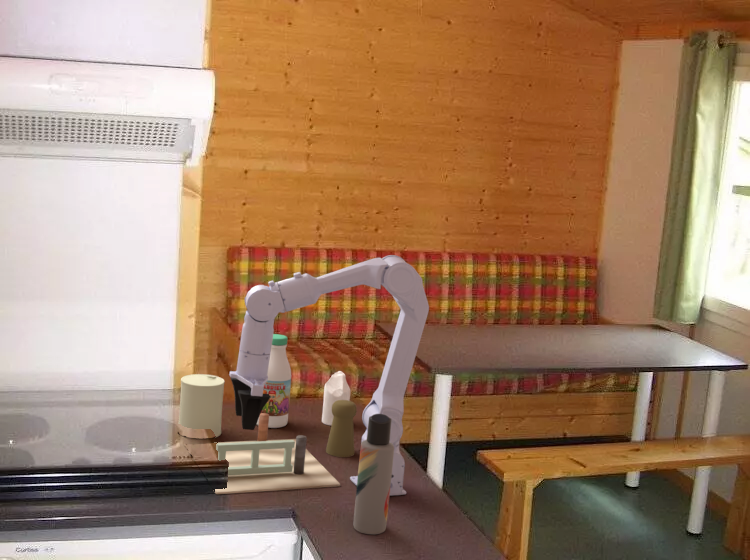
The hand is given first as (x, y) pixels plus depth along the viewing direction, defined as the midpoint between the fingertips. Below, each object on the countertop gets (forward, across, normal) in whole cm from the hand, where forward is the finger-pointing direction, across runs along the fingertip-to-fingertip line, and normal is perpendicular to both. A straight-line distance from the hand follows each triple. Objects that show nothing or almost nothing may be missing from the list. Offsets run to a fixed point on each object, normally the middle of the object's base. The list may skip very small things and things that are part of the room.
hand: (244, 422), depth 185 cm
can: (+12, -29, -4) cm, 31 cm away
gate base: (+11, -9, +6) cm, 16 cm away
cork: (+11, -16, +24) cm, 31 cm away
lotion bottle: (+11, +22, +20) cm, 31 cm away
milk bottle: (+11, -35, +13) cm, 39 cm away
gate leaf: (+11, -2, +4) cm, 12 cm away
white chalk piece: (+10, -36, +28) cm, 46 cm away
